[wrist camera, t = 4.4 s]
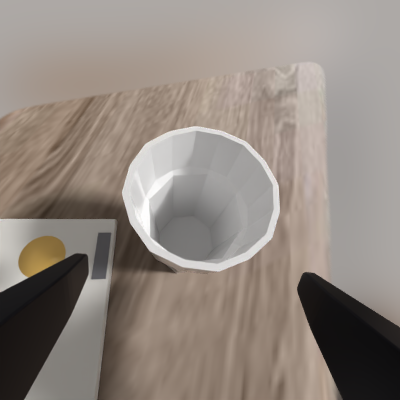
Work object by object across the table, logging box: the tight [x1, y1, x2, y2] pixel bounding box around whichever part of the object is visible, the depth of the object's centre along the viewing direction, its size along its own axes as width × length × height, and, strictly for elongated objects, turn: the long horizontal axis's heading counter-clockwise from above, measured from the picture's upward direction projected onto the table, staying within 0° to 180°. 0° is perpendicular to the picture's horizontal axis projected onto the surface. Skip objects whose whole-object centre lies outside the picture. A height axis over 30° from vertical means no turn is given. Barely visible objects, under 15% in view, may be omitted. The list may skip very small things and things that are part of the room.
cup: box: [122, 126, 280, 274], centre depth 14 cm, size 7×7×11 cm
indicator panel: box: [0, 219, 117, 400], centre depth 14 cm, size 18×10×1 cm, turn 3°
